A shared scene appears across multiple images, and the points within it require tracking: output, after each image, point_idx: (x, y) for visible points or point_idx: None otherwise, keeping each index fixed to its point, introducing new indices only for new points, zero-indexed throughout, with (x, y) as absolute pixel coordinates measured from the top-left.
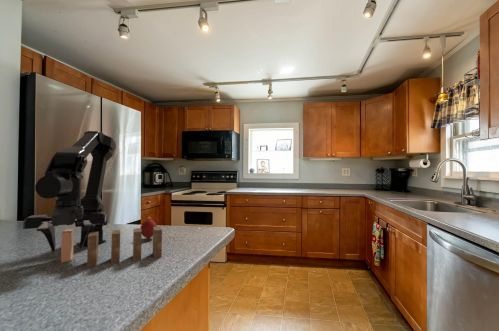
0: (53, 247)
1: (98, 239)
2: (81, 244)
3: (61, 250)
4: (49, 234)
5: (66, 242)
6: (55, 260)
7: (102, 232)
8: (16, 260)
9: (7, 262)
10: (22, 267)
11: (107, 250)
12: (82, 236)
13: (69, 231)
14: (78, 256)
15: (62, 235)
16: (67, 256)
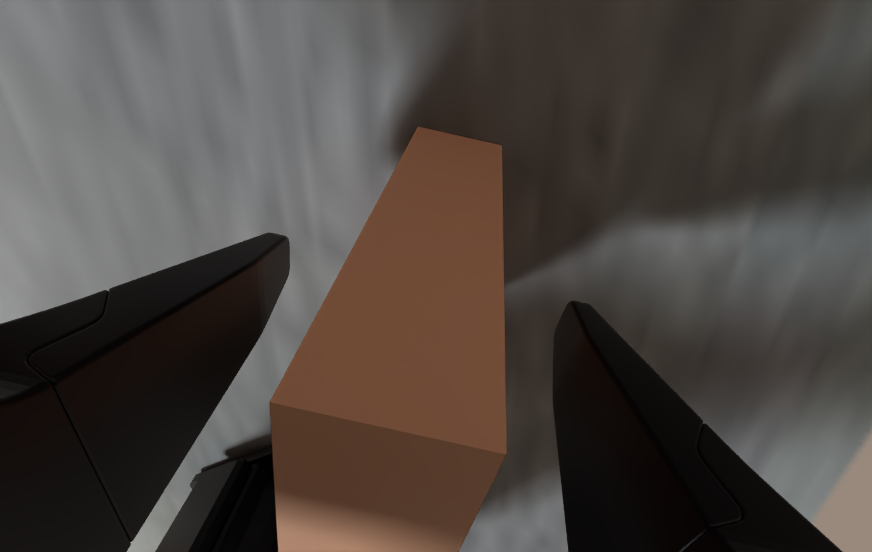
0: (588, 329)
1: (212, 486)
2: (238, 252)
3: (500, 203)
4: (754, 541)
5: (420, 249)
6: (540, 248)
7: (158, 548)
8: (787, 428)
9: (857, 419)
10: (852, 204)
11: (117, 277)
12: (130, 315)
13: (316, 489)
14: (344, 248)
15: (486, 384)
16: (433, 152)
